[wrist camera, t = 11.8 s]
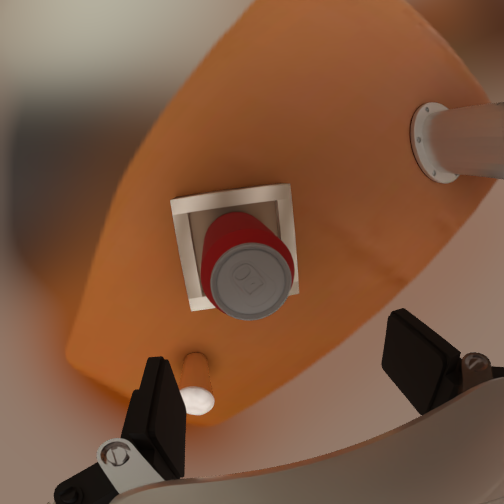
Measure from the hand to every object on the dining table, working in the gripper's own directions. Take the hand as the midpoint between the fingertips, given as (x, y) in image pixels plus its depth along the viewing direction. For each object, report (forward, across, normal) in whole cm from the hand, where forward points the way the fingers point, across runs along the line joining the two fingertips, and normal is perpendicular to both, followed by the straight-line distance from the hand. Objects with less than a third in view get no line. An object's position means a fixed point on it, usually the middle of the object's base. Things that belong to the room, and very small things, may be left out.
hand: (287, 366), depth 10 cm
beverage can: (+20, 0, 0) cm, 20 cm away
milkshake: (+23, +8, +16) cm, 29 cm away
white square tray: (+23, 0, 0) cm, 23 cm away
